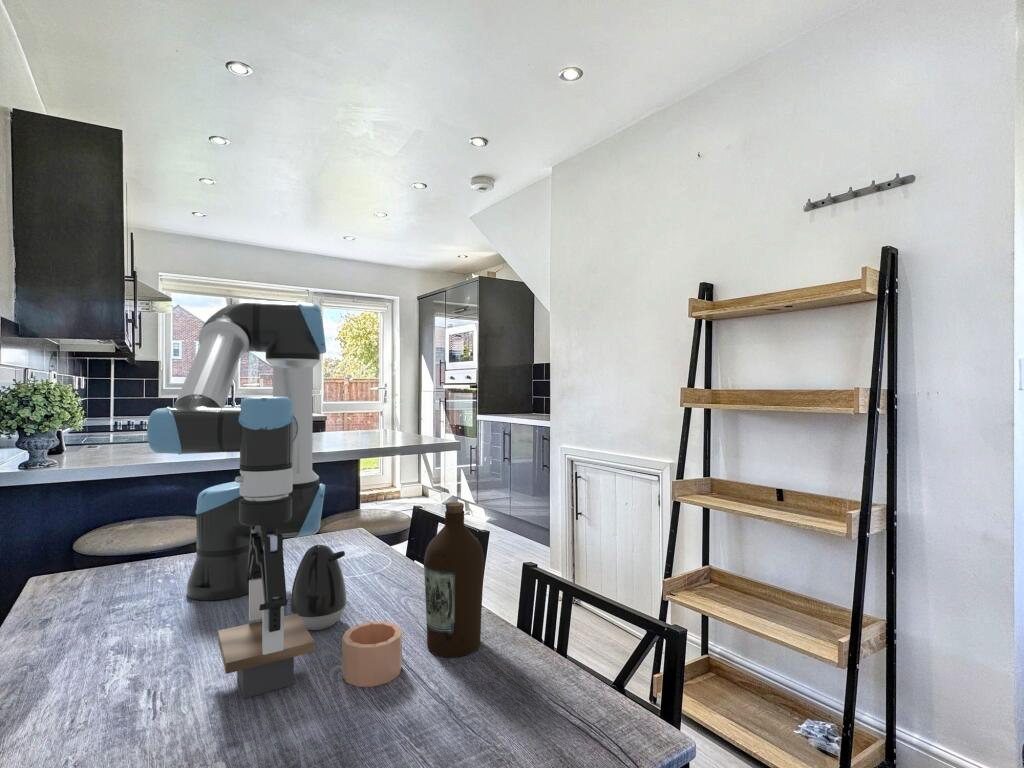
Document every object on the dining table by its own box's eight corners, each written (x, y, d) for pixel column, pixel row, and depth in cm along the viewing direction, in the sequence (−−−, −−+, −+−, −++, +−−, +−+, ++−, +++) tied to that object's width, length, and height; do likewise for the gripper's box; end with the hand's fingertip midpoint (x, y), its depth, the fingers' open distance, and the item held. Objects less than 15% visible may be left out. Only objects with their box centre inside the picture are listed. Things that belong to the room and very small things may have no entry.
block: (237, 677, 86) (237, 642, 86) (284, 664, 90) (284, 631, 90) (243, 699, 80) (243, 661, 80) (293, 684, 84) (293, 649, 84)
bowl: (336, 666, 89) (336, 629, 89) (389, 652, 94) (389, 617, 94) (352, 692, 82) (353, 652, 82) (409, 675, 87) (409, 637, 87)
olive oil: (451, 626, 105) (452, 495, 104) (495, 641, 98) (496, 502, 98) (410, 647, 96) (411, 505, 96) (456, 666, 90) (457, 514, 90)
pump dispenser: (329, 639, 99) (330, 555, 99) (278, 633, 101) (278, 551, 101) (356, 615, 109) (357, 539, 109) (309, 611, 111) (309, 536, 111)
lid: (217, 639, 87) (217, 630, 87) (297, 622, 93) (297, 613, 93) (225, 673, 77) (225, 663, 77) (314, 651, 83) (314, 641, 83)
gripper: (229, 486, 93) (228, 611, 93) (251, 514, 72) (249, 675, 72) (277, 482, 97) (276, 602, 97) (310, 507, 76) (309, 660, 76)
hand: (265, 634), depth 85 cm, fingers open, 13 cm apart
